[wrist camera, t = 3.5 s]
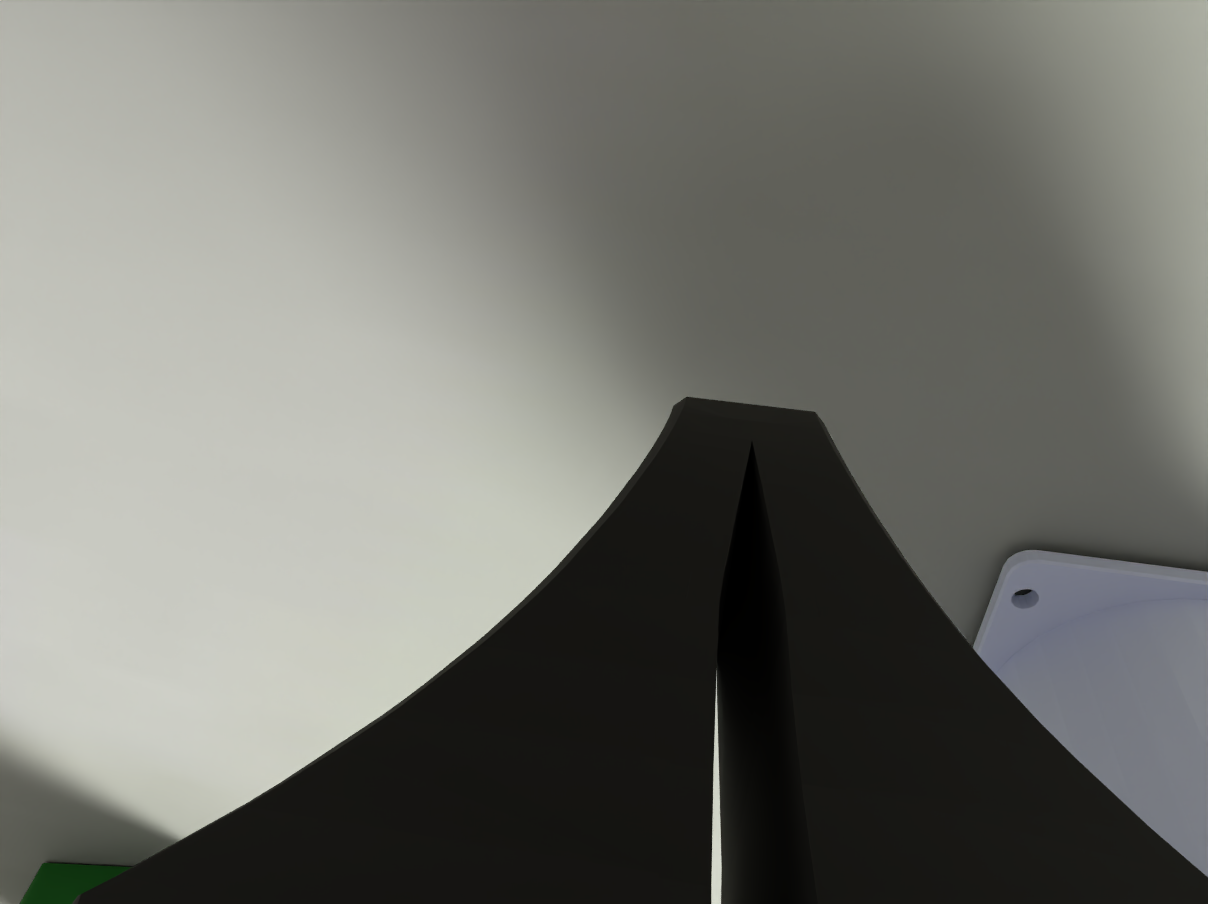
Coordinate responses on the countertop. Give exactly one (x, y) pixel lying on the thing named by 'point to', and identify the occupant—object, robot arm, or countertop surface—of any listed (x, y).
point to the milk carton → (67, 882)
